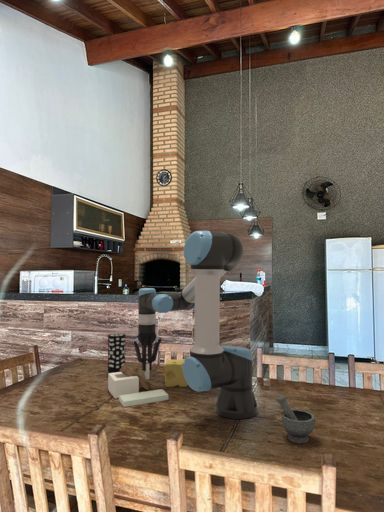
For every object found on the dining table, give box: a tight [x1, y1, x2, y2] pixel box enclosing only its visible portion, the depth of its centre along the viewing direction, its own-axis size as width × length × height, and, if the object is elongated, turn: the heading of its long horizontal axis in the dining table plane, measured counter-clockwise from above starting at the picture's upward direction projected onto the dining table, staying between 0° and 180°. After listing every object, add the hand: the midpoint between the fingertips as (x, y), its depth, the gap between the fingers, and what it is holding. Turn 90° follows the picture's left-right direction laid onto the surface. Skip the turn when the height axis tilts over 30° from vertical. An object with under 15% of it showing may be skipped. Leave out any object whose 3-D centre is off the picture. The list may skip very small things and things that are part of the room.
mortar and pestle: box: [276, 395, 316, 444], centre depth 111 cm, size 11×9×12 cm
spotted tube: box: [107, 332, 126, 374], centre depth 178 cm, size 8×8×20 cm
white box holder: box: [107, 372, 140, 399], centre depth 154 cm, size 10×12×7 cm
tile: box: [120, 364, 152, 391], centre depth 157 cm, size 14×5×3 cm
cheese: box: [164, 358, 189, 388], centre depth 166 cm, size 10×11×10 cm
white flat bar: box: [118, 388, 169, 408], centre depth 144 cm, size 8×18×2 cm, turn 115°
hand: (146, 378), depth 159 cm, fingers closed
